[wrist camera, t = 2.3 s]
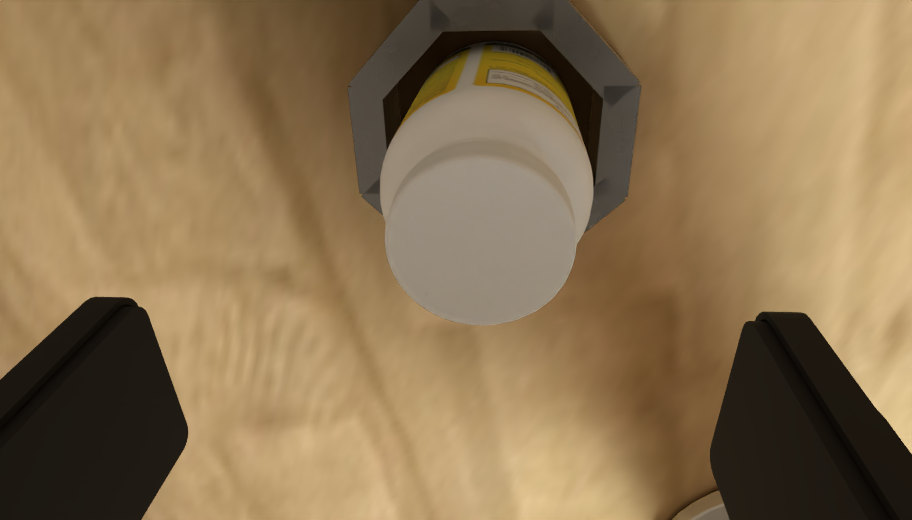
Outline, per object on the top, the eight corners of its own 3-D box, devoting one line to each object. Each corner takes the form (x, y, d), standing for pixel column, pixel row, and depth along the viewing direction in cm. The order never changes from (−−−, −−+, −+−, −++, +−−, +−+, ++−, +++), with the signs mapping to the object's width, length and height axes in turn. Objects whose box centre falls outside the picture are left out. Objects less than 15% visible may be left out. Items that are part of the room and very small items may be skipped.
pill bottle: (436, 201, 26) (387, 363, 16) (400, 55, 23) (316, 149, 13) (580, 178, 25) (618, 338, 15) (562, 22, 22) (595, 99, 12)
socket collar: (636, -21, 21) (653, -13, 18) (608, 233, 26) (618, 267, 23) (358, -15, 22) (336, -7, 19) (382, 229, 27) (367, 262, 24)
